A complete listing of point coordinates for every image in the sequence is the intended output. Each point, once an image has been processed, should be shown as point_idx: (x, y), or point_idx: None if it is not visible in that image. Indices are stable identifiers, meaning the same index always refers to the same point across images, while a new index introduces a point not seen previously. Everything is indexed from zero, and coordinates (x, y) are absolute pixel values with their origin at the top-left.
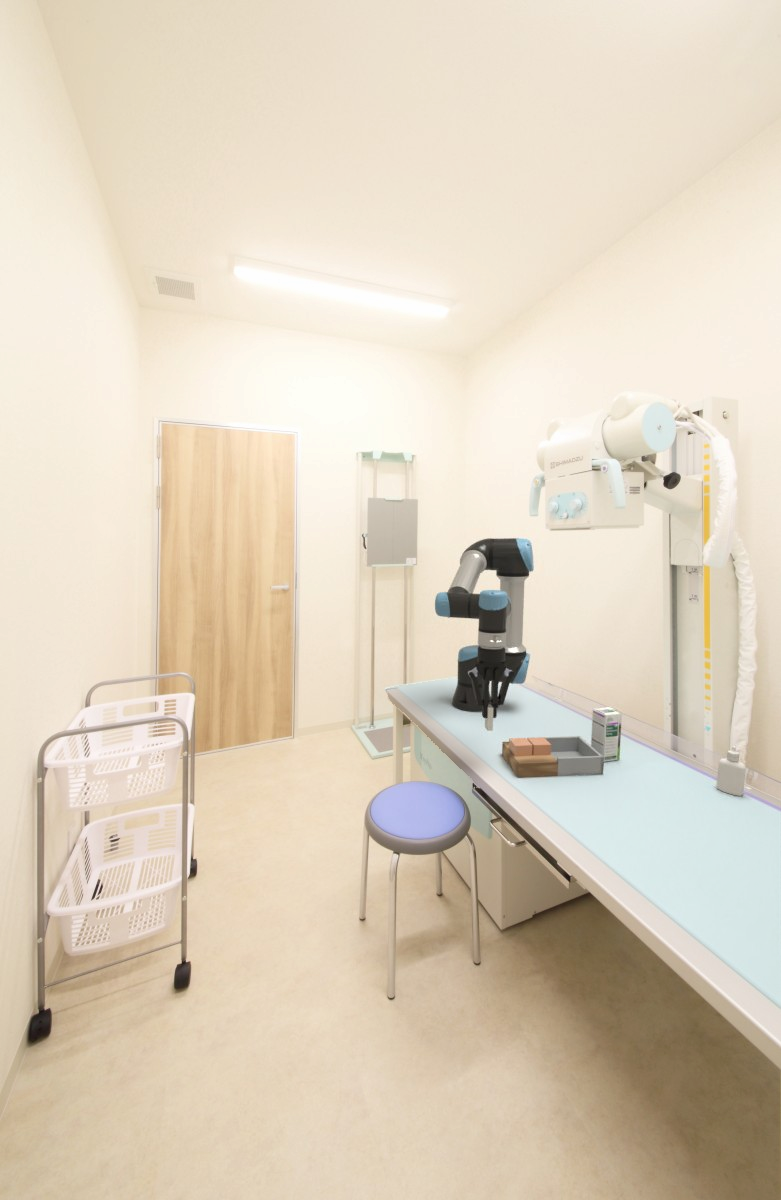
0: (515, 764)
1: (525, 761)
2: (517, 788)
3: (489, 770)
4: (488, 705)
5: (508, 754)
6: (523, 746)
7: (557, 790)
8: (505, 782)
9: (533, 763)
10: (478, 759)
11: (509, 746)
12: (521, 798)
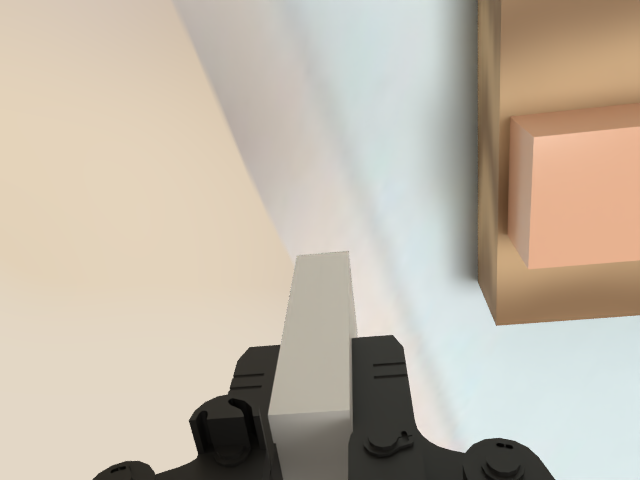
0: (488, 258)
1: (547, 300)
2: (437, 368)
3: (340, 211)
4: (308, 439)
5: (490, 136)
6: (593, 259)
7: (618, 381)
8: (395, 323)
9: (587, 316)
10: (295, 74)
11: (515, 135)
12: (428, 432)
